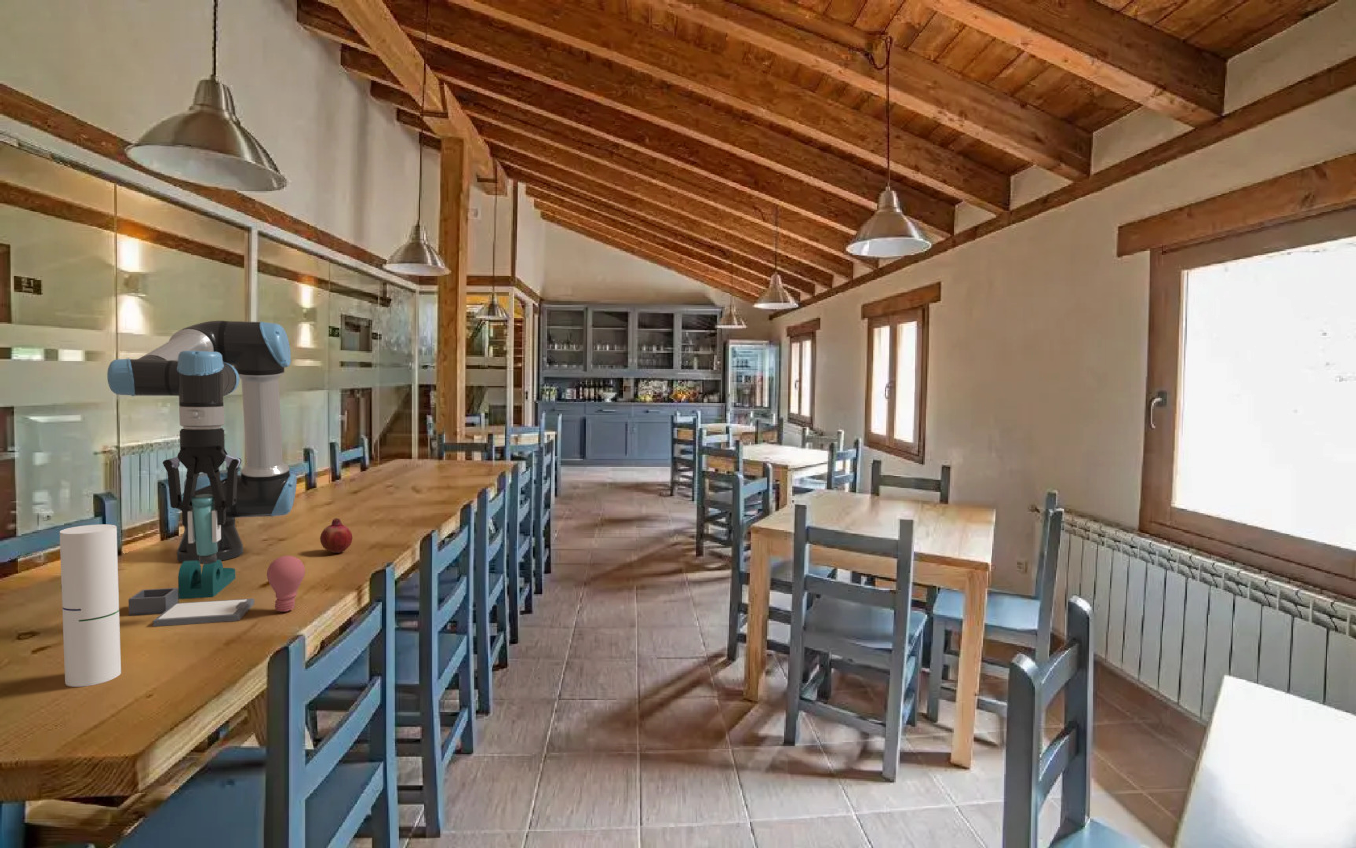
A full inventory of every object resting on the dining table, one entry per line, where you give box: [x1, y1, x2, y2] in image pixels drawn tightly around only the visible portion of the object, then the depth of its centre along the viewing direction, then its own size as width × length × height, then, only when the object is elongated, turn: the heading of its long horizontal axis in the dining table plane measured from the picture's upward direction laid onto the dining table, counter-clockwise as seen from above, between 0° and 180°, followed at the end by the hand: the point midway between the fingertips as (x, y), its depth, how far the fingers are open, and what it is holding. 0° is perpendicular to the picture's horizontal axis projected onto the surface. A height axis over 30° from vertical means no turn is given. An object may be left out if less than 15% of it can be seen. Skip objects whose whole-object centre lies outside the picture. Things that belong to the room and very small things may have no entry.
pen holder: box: [128, 587, 179, 617], centre depth 150 cm, size 7×7×4 cm
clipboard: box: [152, 598, 255, 627], centre depth 147 cm, size 11×15×2 cm
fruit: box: [319, 517, 353, 554], centre depth 199 cm, size 8×8×10 cm
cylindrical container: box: [59, 523, 122, 688], centre depth 116 cm, size 7×7×25 cm
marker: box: [191, 494, 218, 565], centre depth 144 cm, size 4×4×14 cm
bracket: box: [177, 560, 237, 600], centre depth 166 cm, size 18×7×8 cm, turn 16°
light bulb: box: [266, 555, 306, 613], centre depth 150 cm, size 7×7×12 cm
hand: (204, 541), depth 144 cm, fingers closed on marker, 3 cm apart
